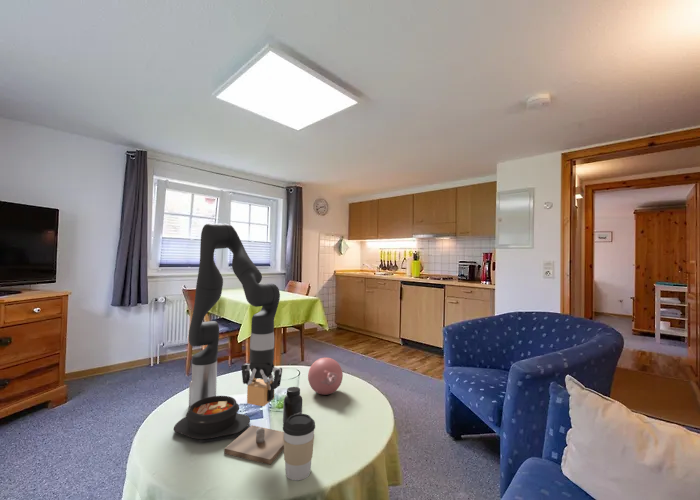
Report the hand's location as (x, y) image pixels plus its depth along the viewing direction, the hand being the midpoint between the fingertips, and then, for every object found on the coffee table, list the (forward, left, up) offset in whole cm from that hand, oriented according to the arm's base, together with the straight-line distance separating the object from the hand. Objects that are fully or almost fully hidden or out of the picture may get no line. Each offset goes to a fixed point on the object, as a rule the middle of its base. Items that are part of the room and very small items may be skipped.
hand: (260, 398), depth 100 cm
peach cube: (0, 0, -1) cm, 1 cm away
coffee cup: (+17, -7, -15) cm, 24 cm away
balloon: (+6, +41, -15) cm, 44 cm away
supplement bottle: (+3, +16, -15) cm, 22 cm away
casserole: (-21, +3, -15) cm, 26 cm away
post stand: (0, 0, -15) cm, 15 cm away
